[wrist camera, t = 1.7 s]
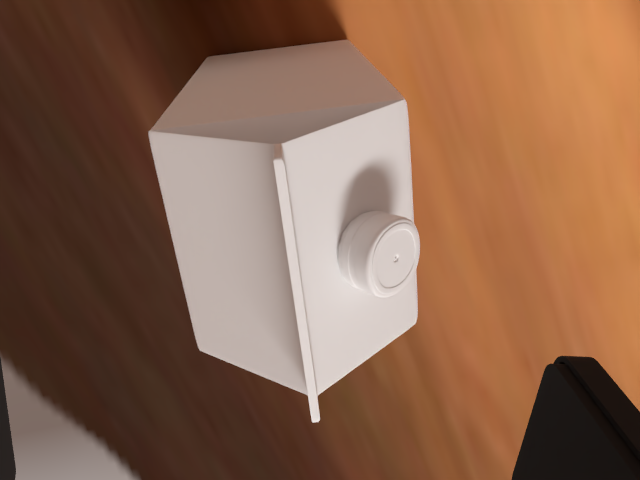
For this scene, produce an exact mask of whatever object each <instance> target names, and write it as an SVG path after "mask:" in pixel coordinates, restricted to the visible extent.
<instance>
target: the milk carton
mask: <svg viewBox="0 0 640 480" xmlns="http://www.w3.org/2000/svg"><path fill="white" fill-rule="evenodd" d="M148 133H149V140H150V145H151V150H152V154H153V159H154V163H155V167H156V172H157V176H158V180H159V185H160V189H161V193H162V197H163V202H164V206H165V210H166V215H167V219H168V223H169V227H170V232H171V236H172V240H173V244H174V249H175V253H176V257H177V262H178V266H179V270H180V274H181V279H182V283H183V287H184V291H185V296H186V300H187V304H188V309H189V313H190V317H191V321H192V326H193V330H194V334H195V338H196V341H197V345H198V348H199V350H200V351H202V352H205V353H207V354H209V355H212V356H214V357H217V358H219V359H221V360H224V361H226V362H229V363H231V364H234V365H236V366H238V367H241V368H243V369H246V370H248V371H250V372H253V373H255V374H258V375H260V376H263V377H265V378H267V379H270V380H272V381H275V382H277V383H279V384H282V385H284V386H287V387H289V388H292V389H294V390H296V391H299V392H301V393H304V394H306V395H308V399H309V405H310V412H311V419H312V422H319V421H320V415H319V407H318V395H319V394H320V393H322V392H323V391H324V390H326V389H327V388H329V387H330V386H331V385H333V384H334V383H335V382H337V381H338V380H340V379H341V378H342V377H344V376H345V375H346V374H348V373H349V372H351V371H352V370H353V369H355V368H356V367H357V366H359V365H360V364H361V363H363V362H364V361H366V360H367V359H368V358H370V357H371V356H372V355H374V354H375V353H377V352H378V351H379V350H381V349H382V348H383V347H385V346H386V345H388V344H389V343H390V342H392V341H393V340H394V339H396V338H397V337H399V336H400V335H401V334H403V333H404V332H405V331H407V330H408V329H409V328H411V327H412V326H413V325H414V324H416V321H417V314H418V302H417V277H416V268H417V264H418V260H419V254H420V240H419V234H418V231H417V228H416V226H415V225H414V215H413V194H412V173H411V154H410V135H409V120H408V109H407V103H406V100H405V99H404V97H403V96H402V95H401V94H400V93H399V92H398V91H397V90H396V89H395V88H394V86H393V85H392V84H391V83H390V82H389V81H388V80H387V79H386V78H385V77H384V76H383V75H382V74H381V73H380V72H379V71H378V70H377V69H376V68H375V67H374V66H373V65H372V64H371V63H370V62H369V61H368V60H367V58H366V57H365V56H364V55H363V54H362V53H361V52H360V51H359V50H358V49H357V48H356V47H355V46H354V45H353V44H352V43H351V42H350V41H349V40H339V41H331V42H323V43H315V44H306V45H298V46H290V47H282V48H274V49H266V50H258V51H249V52H241V53H233V54H225V55H217V56H209V57H207V58H206V59H205V61H204V62H203V63H202V64H201V66H200V67H199V68H198V70H197V71H196V72H195V73H194V75H193V76H192V77H191V79H190V80H189V81H188V83H187V84H186V85H185V86H184V88H183V89H182V90H181V92H180V93H179V94H178V95H177V97H176V98H175V99H174V101H173V102H172V103H171V104H170V106H169V107H168V108H167V110H166V111H165V112H164V113H163V115H162V116H161V117H160V119H159V120H158V121H157V122H156V124H155V125H154V126H153V128H152V129H151V130H150V131H149V132H148Z"/></svg>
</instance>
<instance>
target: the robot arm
mask: <svg viewBox="0 0 640 480" xmlns="http://www.w3.org/2000/svg"><path fill="white" fill-rule="evenodd" d="M15 474H16V468H15V460H14V453H13V446H12V438H11V431H10V424H9V416H8V410H7V403H6V395H5V388H4V380H3V373H2V366H1V359H0V480H15ZM512 480H640V412H639V411H638V409H637V408H636V407H635V406H634V405H633V403H632V402H631V401H630V400H629V399H628V397H627V396H626V395H625V394H624V393H623V391H622V390H621V389H620V388H619V387H618V385H617V384H616V383H615V382H614V381H613V379H612V378H611V377H610V376H609V375H608V373H607V372H606V371H605V370H604V369H603V367H602V366H601V365H600V364H599V363H598V361H596V360H595V359H594V358H591V357H576V356H560V357H558V358H557V359H556V360H555V362H554V364H549V365H547V367H546V368H545V371H544V374H543V377H542V380H541V383H540V387H539V390H538V393H537V397H536V400H535V403H534V406H533V410H532V413H531V416H530V419H529V423H528V426H527V429H526V432H525V436H524V439H523V442H522V445H521V449H520V452H519V455H518V458H517V462H516V465H515V468H514V472H513V475H512Z"/></svg>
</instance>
